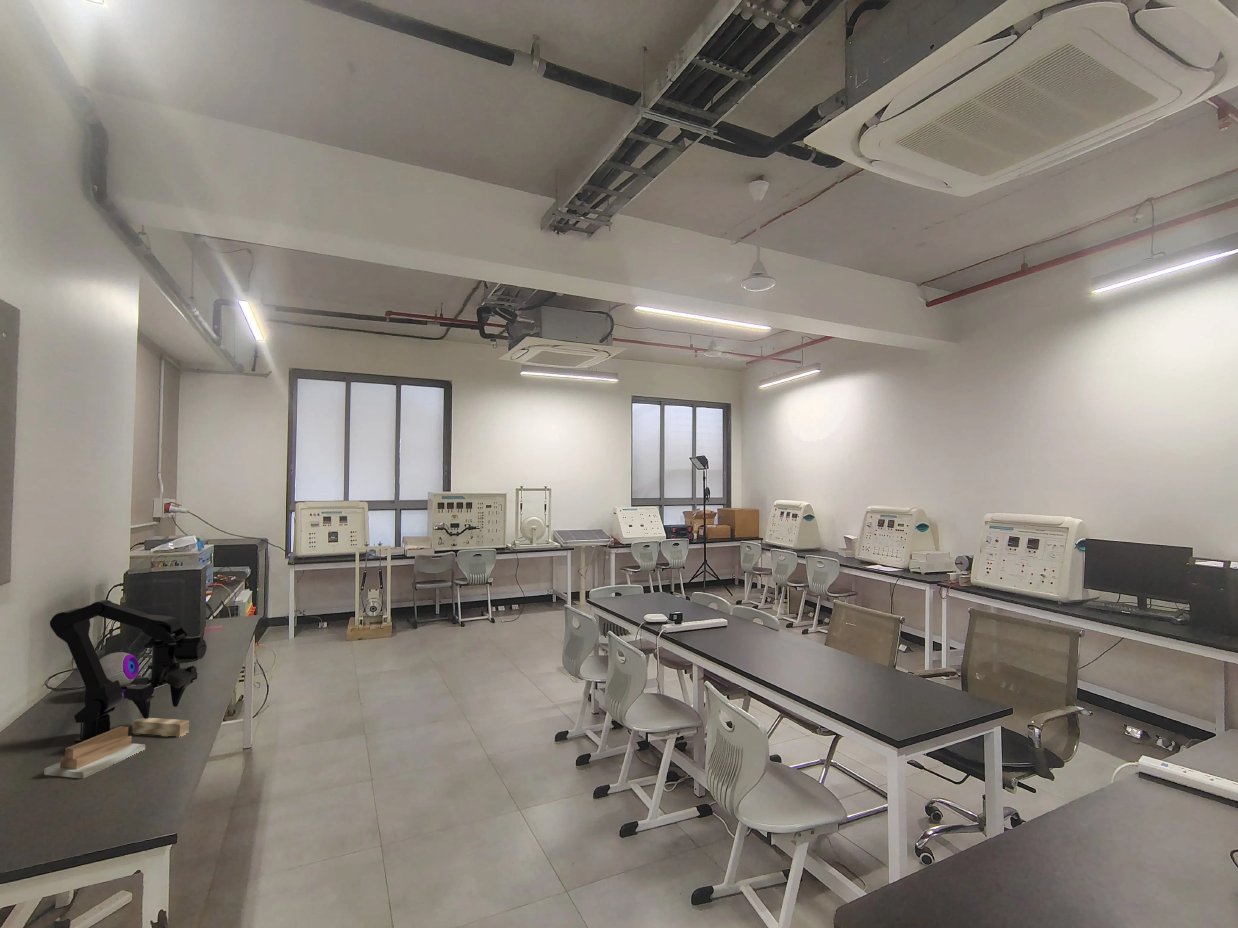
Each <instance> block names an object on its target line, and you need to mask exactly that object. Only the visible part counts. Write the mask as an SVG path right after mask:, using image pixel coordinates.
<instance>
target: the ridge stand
mask: <svg viewBox="0 0 1238 928" xmlns="http://www.w3.org/2000/svg"><path fill="white" fill-rule="evenodd" d="M132 738H133V736H132V735H129V726H122V725H121V726H118V727H115V728H113V729H110V731H108V732H105V733H103V734H100V735H98V736H95V737H93V738H90V739H88V740H85V741H83V742H78V743H76V744H73V745H71V746H68V747H65V750H64V756H62V757H60V761H59V762H57V763H55V764H52V765H49V766H48V767H45V768H44V772H43V775H45V776H52V777H53V776H54V777H63V778H64V777H66V778H73V779H74V778H76V779H86V778H87V777H90V776H92V775H94V774H96V773H98V772H100V771H103V770H105V769H107V768H109V767H111V766H113V764H114V765H116V764H118V763H120V762H122V761H124V760H126V758H127V759H128V757H129V758H131V757H133V756H135V755H137V754H139V752H140V751H142V752H144V751H145V750H146V744H143V743H132ZM143 750H144V751H143ZM136 753H137V754H136ZM140 753H141V752H140ZM134 754H135V755H134ZM132 755H133V756H132ZM130 756H131V757H130Z"/></svg>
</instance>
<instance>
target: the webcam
mask: <svg viewBox="0 0 1238 928" xmlns="http://www.w3.org/2000/svg"><path fill="white" fill-rule="evenodd" d="M99 661H100V663H101V666H102V668H103V670H104V673H105V675H106V677H107V679H109V680H110V681H112V682H114V681H116V680H118V681H119V683H120V687H121V689H122V690H123V691H124V692H125V690H126V689H127V688H130V687H133V686H135V685H136V684H131V683H132V682H133V681H134V680H135V679H136V678H137V676H138V674H139V670H140V663H139V660H138V659H137V658H136V656H135V655H133V654H130V653H128V652H122V651H117V652H113V653H109V654H107V655H104V656H102V657H101V658H100V659H99ZM124 692H122V696H123V697H122V699H125V698H124Z"/></svg>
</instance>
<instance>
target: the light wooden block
mask: <svg viewBox="0 0 1238 928" xmlns="http://www.w3.org/2000/svg"><path fill="white" fill-rule="evenodd" d="M189 729H190V720H187V719H173V718H158V717H148V718H147V719H144V717H143V716H141V717H140V718H138V719H135V720H133V721H132V733H143V734H153V735H152V736H154V735H161V736H160V737H168V736H176V737H175V738H181V737H183V736H186V735H187V734H186V733H188V734H189V733H190V731H189ZM177 736H179V737H177ZM180 736H181V737H180Z"/></svg>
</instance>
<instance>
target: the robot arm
mask: <svg viewBox="0 0 1238 928" xmlns="http://www.w3.org/2000/svg"><path fill="white" fill-rule="evenodd" d="M97 617H101V618H104V619H107V620H111V621H113V622H117V623H120V624H122V625H126V626H129V627H133V628H136V629H138V630H140V631H141V632H142V634H144V635H145V636H147V637H149V638H150V639H149V640H148V642H146V643H144V644H143V647H144V648H152V650H151V664H148V665H147V670H151V671H150V678H147V680H146V683H147V684H141V683H138V684H137V685H136V684H134V685H135V686H133V687H130V688H127V689H126V690H125V692H124V691H123V690H122V689H121V687H120V683H119V681H118V680H116V681H114V682H112V681H110V680H109V679H107V677H106V675H105V673H104V670H103V668H102V666H101V663H100V661H99V660H100V659H99V656H98V654H97V651H96V649H95V647H94V645H93V642H92V641H91V637H90V635H89V634H90V628H91V621H90V620H91V619H94V618H97ZM49 627H50V629H51V630H52V631H53V634H55V636H56V637H58V638H59V639H60V640H62V641H64V642H65V643H66V645H67V648H68V649H69V652H70V654H71V657H72V659H73V661H74V663H75V665H76V668H77V670H78V672H79V673H78V674H79V675H80V678H81V680H82V682H83V685H84V687H85V688H84V689H85V690H84V693H83V702H84V706H83V708H82V709H80V710H79V711H78V712H76V714H75V715H73V718H74V721H75V723H76V724H80V731H79V732H80V733H79V737H78V738H74V739H73V740H74V741H73V742H78V743H80V742H83V741H85V740H88V739H90V738H93V737H95V736H98V735H100V734H103V733H105V732H108V731H110V730H111V715H110V713H112V712H114V711H115V709H116V707H117V706H119V704H120V703H121V701H122V699H126V700H128V701H132V702H133V703H134V704H135V706H136V707H137V709H138V710H139V713H140V714H141V715H142V716H141V717H144V719H147V718H150V717H149V716H150V709H151V701H152V700H153V699H154V698H155V695H153V694H154V693H155V690H159V689H161V688H162V687H166V686H169V689H170V696H171V703H172V707H174V708H176V707H178V705H179V703H180V701H181V699H182V697H183V694H184V692H185V690H186V688H187V687H188V686H189V685H191V684H193V683H194V681H196V680H197V679H198V673H197V666H195V665H191V666H188V667H187V668H186V667H183V668H181V664H180V662H179V661H176V659H177V660H180V661H183V660H201V659H203V658H204V657H205V655H206V652H207V646H208V645H207V643H206V641H205V639H204V635H197V636H196V635H195V636H190V635H189V634H188V632H187V631H186V630H185V629H184V627H182V625H181V622H180V619H179V618H177V617H175V616H170V615H164V614H162V615H160V614H150V613H146V612H144V611H140V610H138V609H133V608H131V607H127V606H125V605H122V604H118V603H115V602H113V601H111V600H109V599H102V600H99V601H95V602H93V603H91V604H89V605H86V606H83V607H81V608H79V607H77V608H72V609H69V610H64V611H61V612H57V613H56V614H54V615H53V616H52V618H51V620H49ZM122 692H124V698H122V697H123V696H122Z"/></svg>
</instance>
